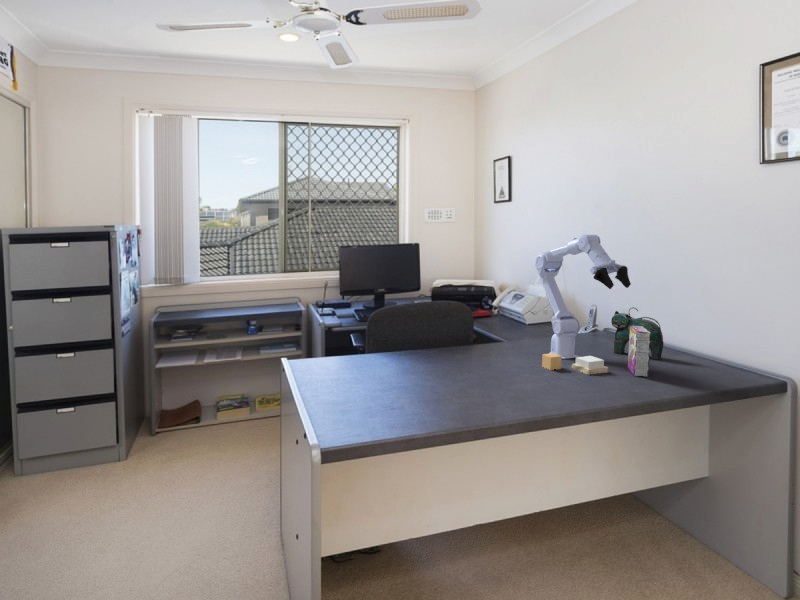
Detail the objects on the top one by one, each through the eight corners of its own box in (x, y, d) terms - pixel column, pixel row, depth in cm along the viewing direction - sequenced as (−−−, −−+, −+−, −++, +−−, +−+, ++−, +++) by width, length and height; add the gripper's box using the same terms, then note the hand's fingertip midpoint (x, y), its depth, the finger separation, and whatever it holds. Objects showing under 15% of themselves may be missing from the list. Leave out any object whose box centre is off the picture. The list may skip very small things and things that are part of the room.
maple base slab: (571, 370, 197) (571, 363, 197) (590, 367, 200) (590, 361, 200) (588, 376, 189) (588, 369, 188) (607, 373, 192) (608, 367, 192)
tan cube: (541, 367, 199) (542, 354, 198) (552, 365, 201) (553, 353, 200) (550, 370, 194) (550, 357, 194) (561, 369, 196) (561, 356, 196)
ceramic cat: (608, 353, 220) (611, 306, 217) (614, 350, 224) (616, 304, 221) (659, 361, 207) (663, 311, 204) (664, 357, 212) (667, 309, 209)
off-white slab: (575, 364, 196) (575, 357, 196) (590, 362, 199) (590, 355, 198) (588, 368, 190) (588, 362, 189) (603, 366, 192) (604, 360, 192)
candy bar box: (626, 368, 197) (629, 325, 195) (640, 368, 196) (643, 325, 194) (633, 376, 186) (636, 331, 184) (648, 377, 185) (651, 332, 183)
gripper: (590, 252, 187) (609, 279, 179) (622, 250, 192) (642, 277, 184) (580, 265, 192) (599, 293, 184) (612, 264, 197) (631, 291, 189)
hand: (620, 286), depth 184 cm, fingers open, 7 cm apart
